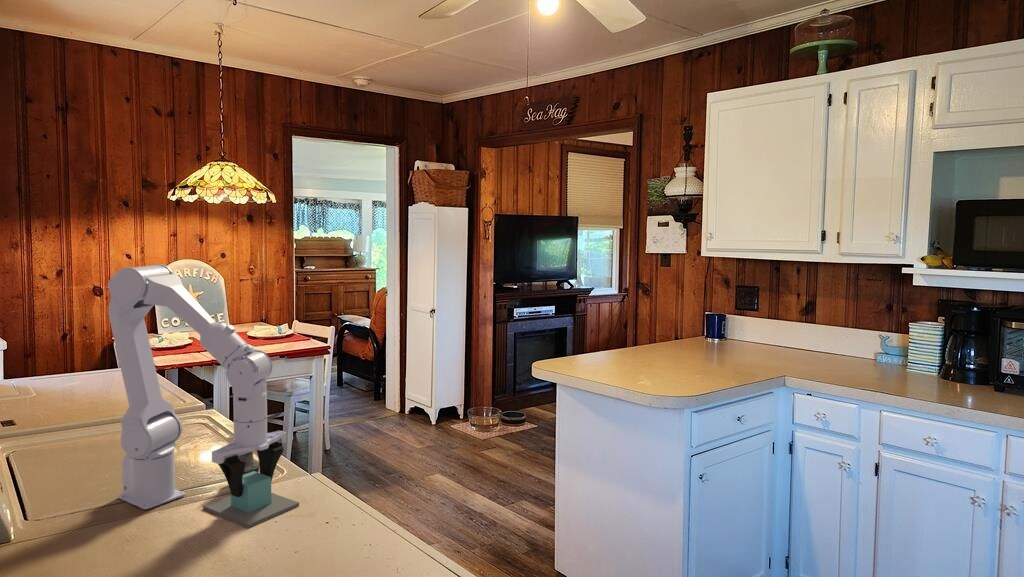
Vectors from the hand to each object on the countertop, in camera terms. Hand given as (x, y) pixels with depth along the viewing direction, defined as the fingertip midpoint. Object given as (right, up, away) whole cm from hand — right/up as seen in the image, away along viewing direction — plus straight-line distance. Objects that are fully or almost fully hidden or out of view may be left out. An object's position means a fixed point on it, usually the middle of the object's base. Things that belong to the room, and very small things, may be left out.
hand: (251, 489), depth 124 cm
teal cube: (0, -3, 0) cm, 3 cm away
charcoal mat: (0, -3, 0) cm, 3 cm away
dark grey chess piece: (-6, -2, +11) cm, 13 cm away
